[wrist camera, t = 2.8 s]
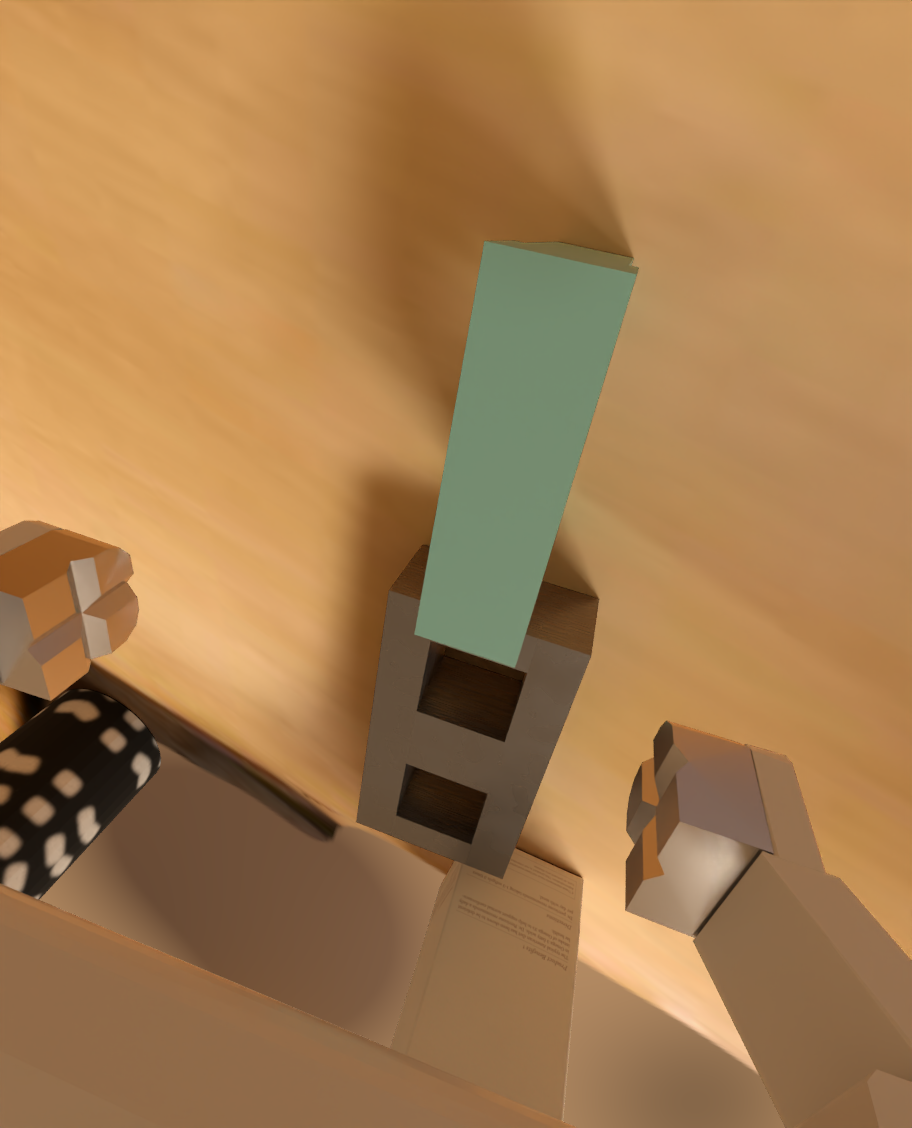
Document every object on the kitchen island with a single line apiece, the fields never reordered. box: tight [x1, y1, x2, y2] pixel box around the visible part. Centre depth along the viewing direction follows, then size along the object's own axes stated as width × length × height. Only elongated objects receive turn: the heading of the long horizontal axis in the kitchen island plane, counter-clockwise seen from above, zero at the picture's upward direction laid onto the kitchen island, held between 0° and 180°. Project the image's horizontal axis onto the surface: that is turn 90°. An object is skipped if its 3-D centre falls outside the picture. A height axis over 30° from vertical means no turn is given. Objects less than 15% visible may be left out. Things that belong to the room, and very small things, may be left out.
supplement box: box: [390, 848, 583, 1121], centre depth 30 cm, size 7×7×13 cm
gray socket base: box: [356, 545, 599, 879], centre depth 27 cm, size 8×15×4 cm, turn 170°
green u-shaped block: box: [415, 241, 639, 668], centre depth 17 cm, size 3×10×9 cm, turn 170°
